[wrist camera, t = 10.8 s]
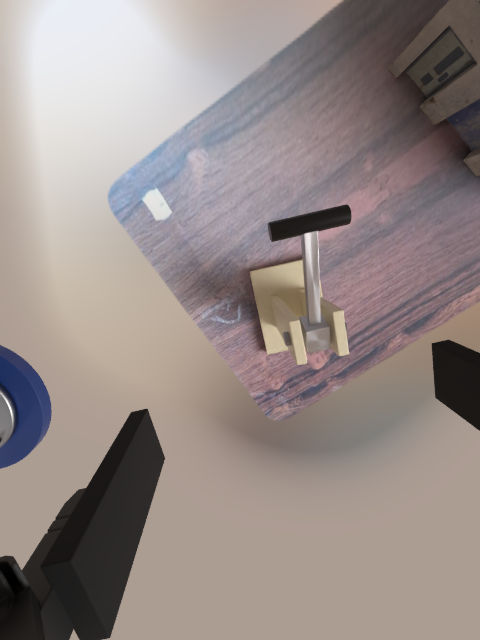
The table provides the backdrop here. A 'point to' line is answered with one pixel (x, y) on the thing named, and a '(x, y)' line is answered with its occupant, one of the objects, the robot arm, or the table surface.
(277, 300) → the bracket
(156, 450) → the robot arm
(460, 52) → the building
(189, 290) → the table surface
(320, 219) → the lever
